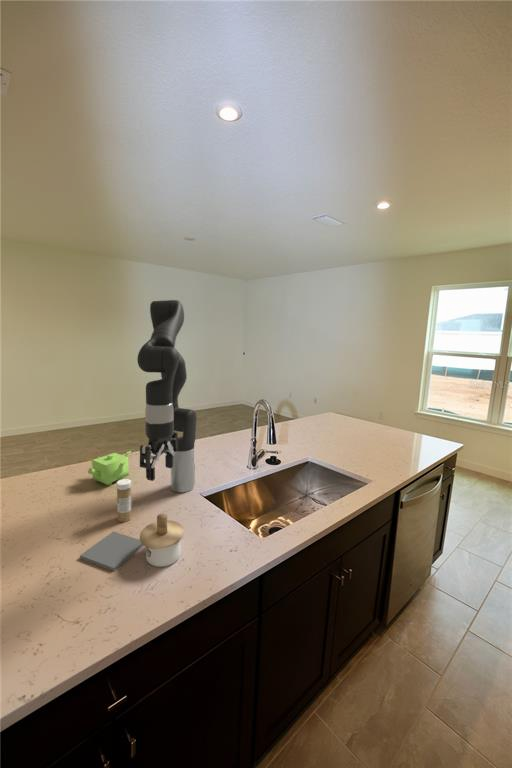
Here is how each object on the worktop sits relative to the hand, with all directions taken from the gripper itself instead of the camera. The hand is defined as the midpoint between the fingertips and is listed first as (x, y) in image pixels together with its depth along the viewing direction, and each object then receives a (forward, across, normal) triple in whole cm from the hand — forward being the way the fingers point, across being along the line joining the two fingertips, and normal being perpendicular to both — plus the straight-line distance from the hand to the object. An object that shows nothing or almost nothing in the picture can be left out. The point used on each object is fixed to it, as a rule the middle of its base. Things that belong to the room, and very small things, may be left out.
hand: (160, 473), depth 91 cm
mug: (+24, +2, +2) cm, 24 cm away
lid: (+17, +2, +2) cm, 18 cm away
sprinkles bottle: (+24, -7, -20) cm, 32 cm away
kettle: (+24, -27, -45) cm, 58 cm away
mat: (+23, +7, -11) cm, 27 cm away
